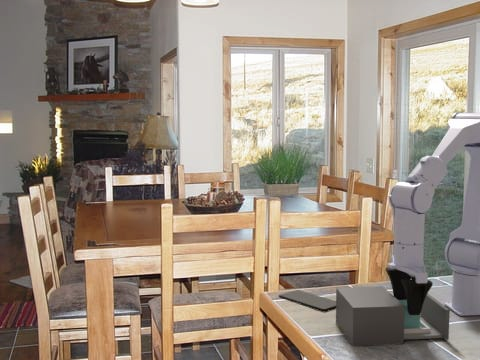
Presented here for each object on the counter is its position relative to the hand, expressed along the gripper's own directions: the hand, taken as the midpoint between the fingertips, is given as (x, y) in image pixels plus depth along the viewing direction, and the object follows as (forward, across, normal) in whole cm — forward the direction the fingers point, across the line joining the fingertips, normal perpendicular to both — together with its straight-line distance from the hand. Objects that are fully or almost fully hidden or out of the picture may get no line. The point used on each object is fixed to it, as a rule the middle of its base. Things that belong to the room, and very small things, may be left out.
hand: (407, 308), depth 118 cm
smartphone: (+5, -21, -16) cm, 27 cm away
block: (+4, 0, 0) cm, 4 cm away
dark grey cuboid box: (+5, 0, -8) cm, 9 cm away
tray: (+5, 0, +1) cm, 5 cm away
